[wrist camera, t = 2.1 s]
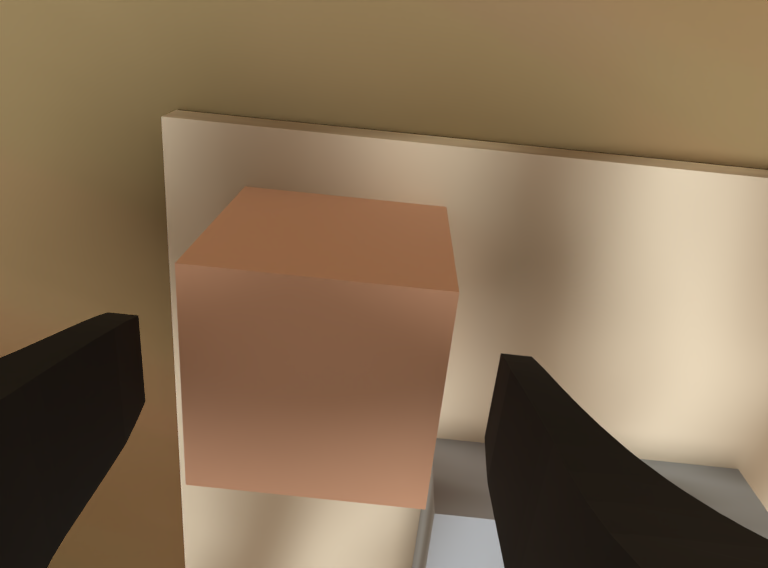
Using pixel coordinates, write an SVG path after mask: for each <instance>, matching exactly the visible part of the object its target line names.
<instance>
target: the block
mask: <svg viewBox="0 0 768 568" xmlns="http://www.w3.org/2000/svg"><path fill="white" fill-rule="evenodd" d="M175 278H176V298H177V319H178V339H179V359H180V379H181V400H182V420H183V440H184V461H185V481H186V485H192V486H202V487H212V488H221V489H231V490H241V491H250V492H260V493H270V494H279V495H289V496H299V497H308V498H318V499H328V500H337V501H347V502H357V503H366V504H376V505H386V506H395V507H405V508H415V509H424V510H425V509H426V503H427V496H428V490H429V483H430V477H431V471H432V464H433V458H434V451H435V445H436V439H437V432H438V426H439V419H440V413H441V407H442V400H443V394H444V387H445V381H446V374H447V368H448V362H449V355H450V349H451V342H452V336H453V330H454V323H455V317H456V310H457V304H458V298H459V287H458V280H457V274H456V267H455V260H454V254H453V247H452V241H451V234H450V228H449V221H448V214H447V208H446V207H443V206H433V205H423V204H413V203H404V202H394V201H384V200H374V199H364V198H355V197H345V196H335V195H325V194H315V193H305V192H296V191H286V190H276V189H266V188H256V187H247V186H245V187H244V188H243V189H242V190H241V191H240V192H239V193H238V195H237V196H236V197H235V198H234V199H233V200H232V201H231V202H230V203H229V204H228V205H227V207H226V208H225V209H224V210H223V211H222V212H221V213H220V214H219V215H218V216H217V218H216V219H215V220H214V221H213V222H212V223H211V224H210V225H209V226H208V227H207V228H206V230H205V231H204V232H203V233H202V234H201V235H200V236H199V237H198V238H197V239H196V240H195V242H194V243H193V244H192V245H191V246H190V247H189V248H188V249H187V250H186V251H185V253H184V254H183V255H182V256H181V257H180V258H179V259H178V260H177V261H176V262H175Z"/></svg>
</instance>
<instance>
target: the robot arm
mask: <svg viewBox="0 0 768 568" xmlns="http://www.w3.org/2000/svg"><path fill="white" fill-rule="evenodd" d="M144 403H145V393H144V380H143V368H142V355H141V343H140V331H139V318H138V316H137V315H127V314H118V313H105V314H102V315H99V316H96V317H93V318H91V319H88V320H86V321H83V322H81V323H79V324H76V325H74V326H72V327H70V328H67V329H65V330H63V331H61V332H58V333H56V334H54V335H52V336H50V337H47V338H45V339H43V340H41V341H38V342H36V343H34V344H32V345H29V346H27V347H25V348H23V349H20V350H18V351H16V352H13V353H11V354H9V355H6V356H4V357H1V358H0V568H47V567H48V565H49V563H50V561H51V559H52V557H53V556H54V554H55V552H56V551H57V549H58V547H59V546H60V544H61V542H62V541H63V539H64V537H65V536H66V534H67V533H68V531H69V530H70V528H71V527H72V525H73V524H74V522H75V521H76V519H77V518H78V516H79V515H80V513H81V512H82V510H83V509H84V507H85V506H86V504H87V502H88V501H89V499H90V498H91V496H92V495H93V493H94V492H95V490H96V489H97V487H98V486H99V484H100V483H101V481H102V480H103V478H104V477H105V475H106V474H107V472H108V471H109V469H110V468H111V466H112V464H113V463H114V461H115V460H116V458H117V457H118V455H119V454H120V452H121V450H122V449H123V447H124V446H125V444H126V442H127V440H128V438H129V436H130V434H131V432H132V430H133V428H134V426H135V424H136V421H137V419H138V417H139V415H140V412H141V410H142V408H143V406H144ZM484 438H485V456H486V471H487V483H488V488H489V493H490V499H491V504H492V509H493V514H494V519H495V524H496V529H497V534H498V538H499V543H500V548H501V553H502V558H503V563H504V568H768V539H767V538H765V537H763V536H761V535H759V534H757V533H755V532H753V531H751V530H749V529H747V528H745V527H744V526H742V525H740V524H738V523H737V522H735V521H733V520H731V519H729V518H728V517H726V516H724V515H722V514H721V513H719V512H717V511H716V510H714V509H712V508H711V507H709V506H708V505H706V504H704V503H703V502H701V501H700V500H698V499H696V498H695V497H693V496H692V495H690V494H688V493H687V492H685V491H684V490H682V489H681V488H679V487H678V486H676V485H675V484H673V483H672V482H670V481H669V480H668V479H666V478H665V477H663V476H662V475H661V474H659V473H658V472H657V471H655V470H654V469H653V468H651V467H650V466H649V465H647V464H646V463H645V462H643V461H642V460H640V459H639V458H638V457H637V456H635V455H634V454H633V453H632V452H630V451H629V450H628V449H627V448H625V447H624V446H623V445H622V444H621V443H620V442H618V441H617V440H616V439H615V438H614V437H613V436H612V435H610V434H609V433H608V432H607V431H606V430H605V429H604V428H602V427H601V426H600V425H599V424H598V423H597V422H596V421H595V420H594V419H593V418H592V417H591V416H590V415H589V414H588V413H587V412H586V411H585V410H583V409H582V408H581V407H580V406H579V405H578V404H577V403H576V402H575V401H574V400H573V399H572V397H571V396H570V395H569V394H568V393H567V392H566V391H565V390H564V389H563V388H562V387H561V386H560V385H559V384H558V383H557V382H556V381H555V380H554V379H553V378H552V377H551V376H550V374H549V373H548V372H547V371H546V370H545V369H544V368H543V367H542V366H541V365H540V364H539V363H538V362H537V361H536V360H535V359H534V358H533V357H532V356H522V355H512V354H503V353H501V355H500V360H499V365H498V371H497V376H496V381H495V386H494V391H493V396H492V401H491V406H490V411H489V416H488V421H487V427H486V432H485V437H484Z"/></svg>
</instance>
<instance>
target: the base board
mask: <svg viewBox="0 0 768 568" xmlns="http://www.w3.org/2000/svg"><path fill="white" fill-rule="evenodd" d="M161 121H162V139H163V158H164V177H165V196H166V214H167V233H168V252H169V271H170V289H171V308H172V327H173V346H174V364H175V383H176V402H177V421H178V439H179V458H180V477H181V496H182V514H183V533H184V552H185V568H504V563H503V558H502V553H501V548H500V543H499V538H498V534H497V529H496V524H495V519H494V514H493V509H492V504H491V499H490V493H489V488H488V483H487V471H486V456H485V438H484V437H485V432H486V427H487V421H488V416H489V411H490V406H491V401H492V396H493V391H494V386H495V381H496V376H497V371H498V365H499V360H500V355H501V353H503V354H512V355H522V356H532V357H533V358H534V359H535V360H536V361H537V362H538V363H539V364H540V365H541V366H542V367H543V368H544V369H545V370H546V371H547V372H548V373H549V374H550V376H551V377H552V378H553V379H554V380H555V381H556V382H557V383H558V384H559V385H560V386H561V387H562V388H563V389H564V390H565V391H566V392H567V393H568V394H569V395H570V396H571V397H572V399H573V400H574V401H575V402H576V403H577V404H578V405H579V406H580V407H581V408H582V409H583V410H585V411H586V412H587V413H588V414H589V415H590V416H591V417H592V418H593V419H594V420H595V421H596V422H597V423H598V424H599V425H600V426H601V427H602V428H604V429H605V430H606V431H607V432H608V433H609V434H610V435H612V436H613V437H614V438H615V439H616V440H617V441H618V442H620V443H621V444H622V445H623V446H624V447H625V448H627V449H628V450H629V451H630V452H632V453H633V454H634V455H635V456H637V457H638V458H639V459H640V460H642V461H643V462H645V463H646V464H647V465H649V466H650V467H651V468H653V469H654V470H655V471H657V472H658V473H659V474H661V475H662V476H663V477H665V478H666V479H668V480H669V481H670V482H672V483H673V484H675V485H676V486H678V487H679V488H681V489H682V490H684V491H685V492H687V493H688V494H690V495H692V496H693V497H695V498H696V499H698V500H700V501H701V502H703V503H704V504H706V505H708V506H709V507H711V508H712V509H714V510H716V511H717V512H719V513H721V514H722V515H724V516H726V517H728V518H729V519H731V520H733V521H735V522H737V523H738V524H740V525H742V526H744V527H745V528H747V529H749V530H751V531H753V532H755V533H757V534H759V535H761V536H763V537H765V538H767V539H768V170H763V169H754V168H744V167H734V166H724V165H714V164H704V163H694V162H685V161H675V160H665V159H655V158H645V157H635V156H626V155H616V154H606V153H596V152H586V151H576V150H566V149H557V148H547V147H537V146H527V145H517V144H507V143H498V142H488V141H478V140H468V139H458V138H448V137H438V136H429V135H419V134H409V133H399V132H389V131H379V130H370V129H360V128H350V127H340V126H330V125H320V124H310V123H301V122H291V121H281V120H271V119H261V118H251V117H241V116H232V115H222V114H212V113H202V112H192V111H182V110H174V111H172V112H170V113H168V114H166V115H163V116H161ZM245 186H247V187H256V188H266V189H276V190H286V191H296V192H305V193H315V194H325V195H335V196H345V197H355V198H364V199H374V200H384V201H394V202H404V203H413V204H423V205H433V206H443V207H446V208H447V214H448V221H449V228H450V234H451V241H452V247H453V254H454V260H455V267H456V274H457V280H458V287H459V298H458V304H457V310H456V317H455V323H454V330H453V336H452V342H451V349H450V355H449V362H448V368H447V374H446V381H445V387H444V394H443V400H442V407H441V413H440V419H439V426H438V432H437V439H436V445H435V451H434V458H433V464H432V471H431V477H430V483H429V490H428V496H427V503H426V509H425V510H424V509H415V508H405V507H395V506H386V505H376V504H366V503H357V502H347V501H337V500H328V499H318V498H308V497H299V496H289V495H279V494H270V493H260V492H250V491H241V490H231V489H221V488H212V487H202V486H192V485H186V481H185V461H184V440H183V420H182V400H181V379H180V359H179V339H178V319H177V298H176V278H175V262H176V261H177V260H178V259H179V258H180V257H181V256H182V255H183V254H184V253H185V251H186V250H187V249H188V248H189V247H190V246H191V245H192V244H193V243H194V242H195V240H196V239H197V238H198V237H199V236H200V235H201V234H202V233H203V232H204V231H205V230H206V228H207V227H208V226H209V225H210V224H211V223H212V222H213V221H214V220H215V219H216V218H217V216H218V215H219V214H220V213H221V212H222V211H223V210H224V209H225V208H226V207H227V205H228V204H229V203H230V202H231V201H232V200H233V199H234V198H235V197H236V196H237V195H238V193H239V192H240V191H241V190H242V189H243V188H244V187H245Z"/></svg>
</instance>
